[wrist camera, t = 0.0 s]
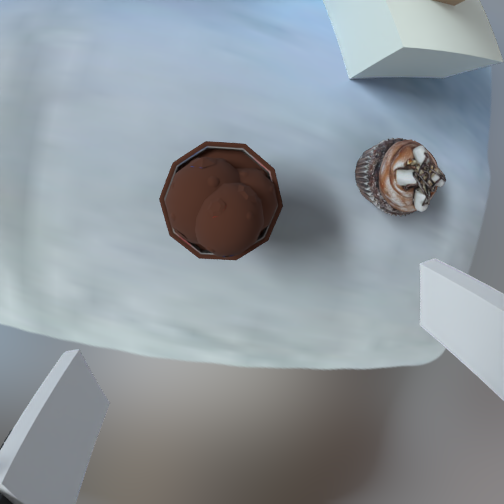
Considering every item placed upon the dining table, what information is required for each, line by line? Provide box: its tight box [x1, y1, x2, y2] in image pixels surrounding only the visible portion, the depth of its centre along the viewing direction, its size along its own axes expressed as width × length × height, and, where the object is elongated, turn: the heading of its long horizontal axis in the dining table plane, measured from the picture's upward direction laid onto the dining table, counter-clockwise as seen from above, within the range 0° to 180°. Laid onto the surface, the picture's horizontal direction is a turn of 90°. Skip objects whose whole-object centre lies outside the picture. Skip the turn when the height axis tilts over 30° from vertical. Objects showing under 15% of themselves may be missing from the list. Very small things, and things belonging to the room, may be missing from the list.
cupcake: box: [355, 138, 446, 217], centre depth 33 cm, size 10×10×10 cm
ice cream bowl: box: [159, 141, 283, 260], centre depth 29 cm, size 11×11×15 cm
